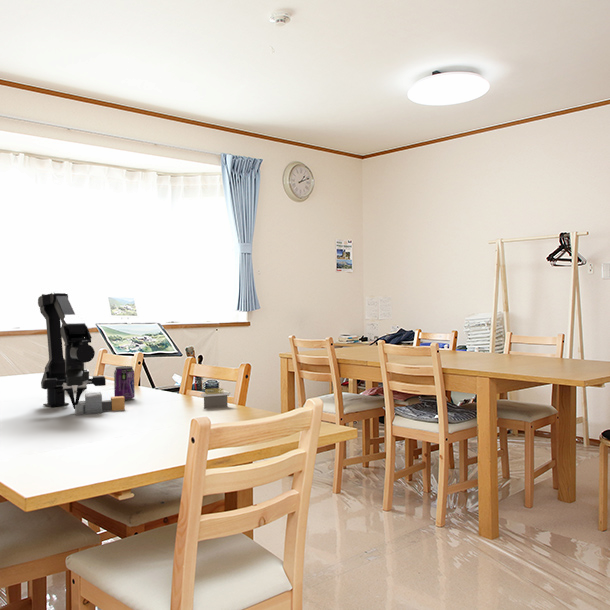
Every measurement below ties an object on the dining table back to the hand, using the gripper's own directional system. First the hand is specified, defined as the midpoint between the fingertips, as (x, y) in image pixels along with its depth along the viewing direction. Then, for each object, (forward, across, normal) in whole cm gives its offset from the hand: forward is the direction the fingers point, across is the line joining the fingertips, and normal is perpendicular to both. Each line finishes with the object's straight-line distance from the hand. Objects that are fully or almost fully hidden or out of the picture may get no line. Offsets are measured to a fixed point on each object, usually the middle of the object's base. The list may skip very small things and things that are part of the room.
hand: (75, 408), depth 188 cm
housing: (+1, +4, 0) cm, 4 cm away
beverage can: (+1, +17, +22) cm, 28 cm away
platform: (+2, +44, -10) cm, 45 cm away
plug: (+1, +8, 0) cm, 8 cm away
